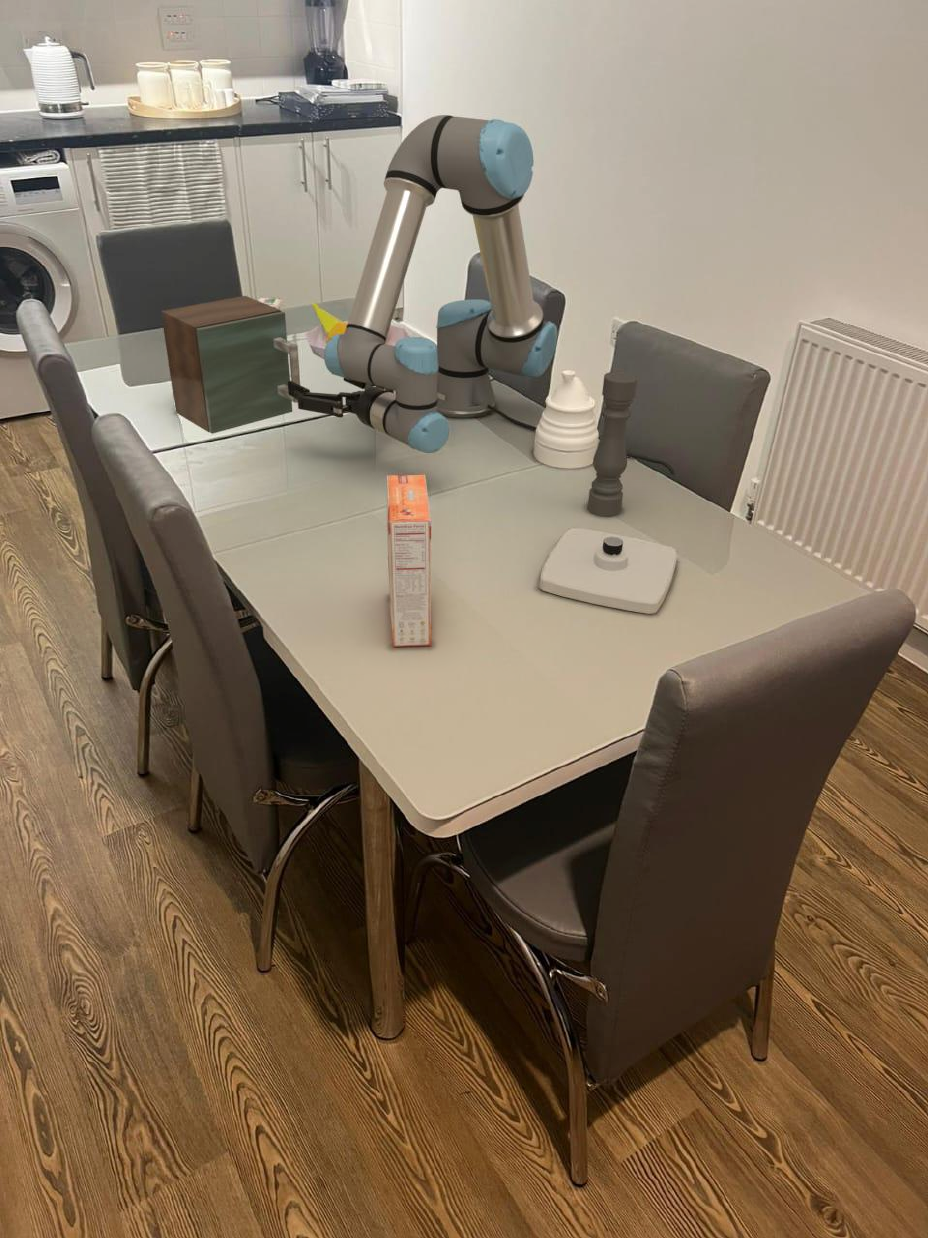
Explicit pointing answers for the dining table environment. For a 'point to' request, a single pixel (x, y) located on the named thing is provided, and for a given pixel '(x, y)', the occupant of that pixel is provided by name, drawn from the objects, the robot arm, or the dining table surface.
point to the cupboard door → (247, 370)
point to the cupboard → (186, 351)
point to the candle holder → (612, 445)
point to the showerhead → (609, 570)
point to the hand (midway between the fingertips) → (317, 380)
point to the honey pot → (567, 426)
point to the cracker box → (409, 559)
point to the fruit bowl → (341, 332)
